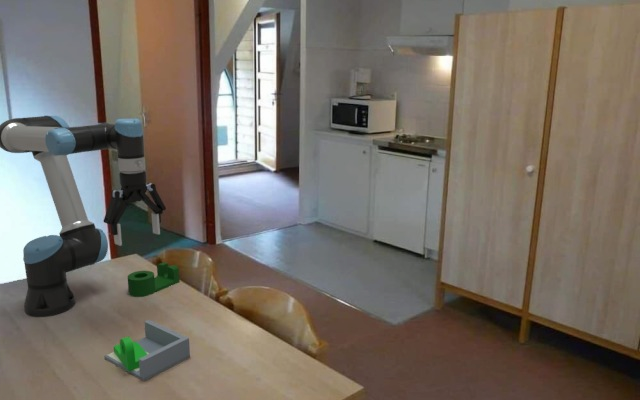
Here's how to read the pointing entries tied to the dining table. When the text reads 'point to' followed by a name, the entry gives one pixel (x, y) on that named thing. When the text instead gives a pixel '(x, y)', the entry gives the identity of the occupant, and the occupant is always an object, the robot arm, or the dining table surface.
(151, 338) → the corner arena
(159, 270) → the slotted cylinder bracket
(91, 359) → the dining table surface
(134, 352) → the mechanical part
